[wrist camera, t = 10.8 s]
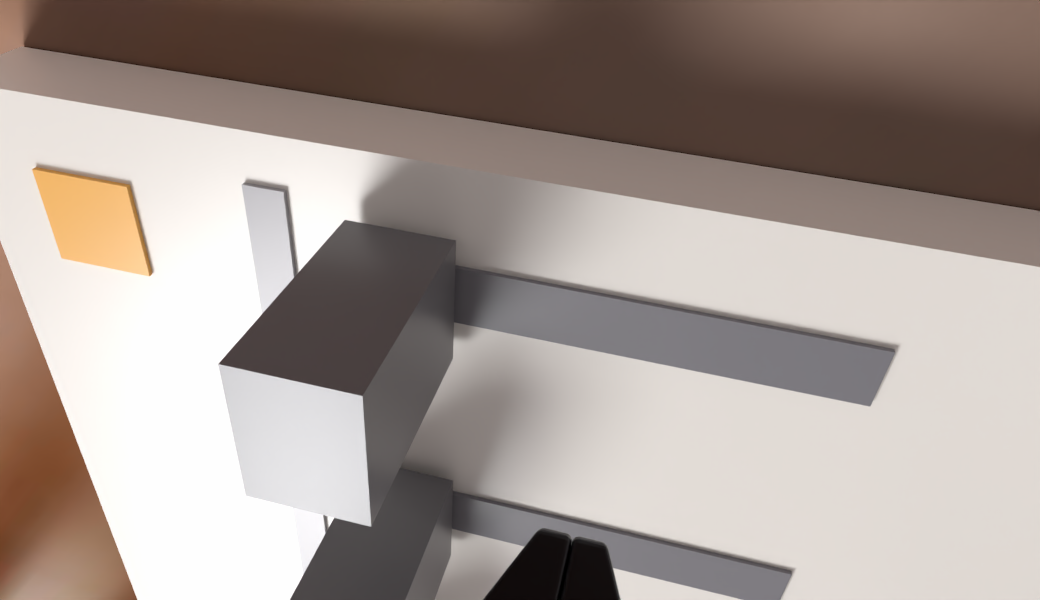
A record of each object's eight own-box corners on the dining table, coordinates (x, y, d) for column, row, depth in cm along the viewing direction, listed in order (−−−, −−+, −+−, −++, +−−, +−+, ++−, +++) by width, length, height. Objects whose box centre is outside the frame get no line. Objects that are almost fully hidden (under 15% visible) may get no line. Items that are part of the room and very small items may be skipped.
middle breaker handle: (452, 480, 16) (383, 653, 13) (450, 555, 18) (388, 726, 15) (365, 459, 17) (276, 624, 13) (370, 535, 18) (292, 698, 15)
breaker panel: (1291, 251, 12) (1381, 329, 10) (901, 749, 22) (915, 831, 20) (20, 46, 15) (-67, 79, 14) (180, 559, 25) (140, 615, 24)
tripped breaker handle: (455, 240, 13) (362, 395, 10) (453, 358, 14) (371, 526, 11) (344, 219, 13) (218, 363, 10) (353, 337, 15) (245, 495, 11)
